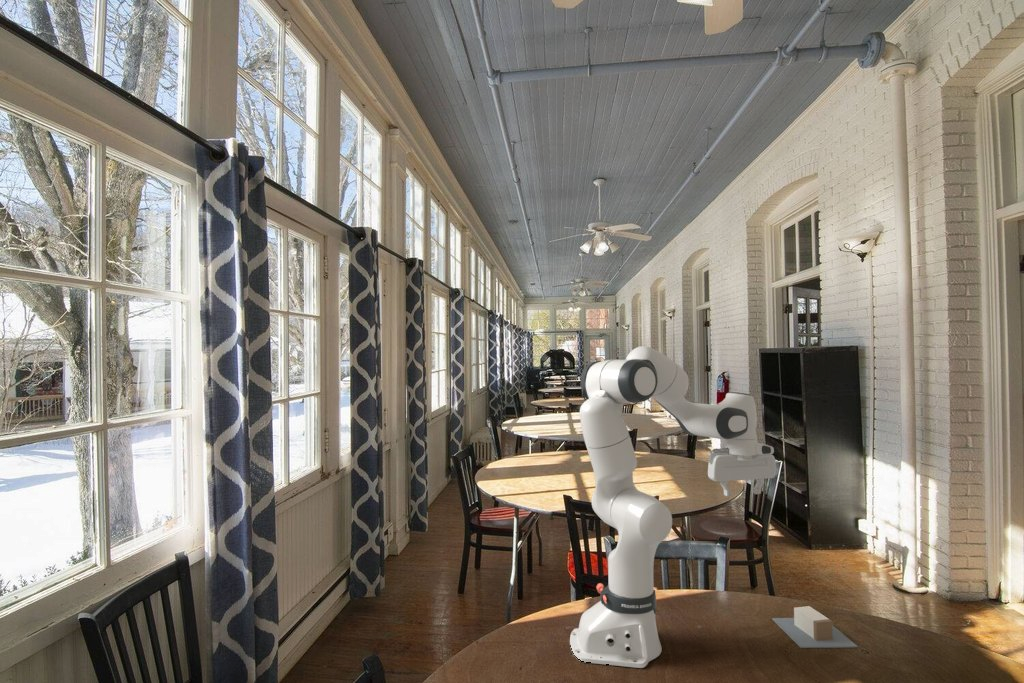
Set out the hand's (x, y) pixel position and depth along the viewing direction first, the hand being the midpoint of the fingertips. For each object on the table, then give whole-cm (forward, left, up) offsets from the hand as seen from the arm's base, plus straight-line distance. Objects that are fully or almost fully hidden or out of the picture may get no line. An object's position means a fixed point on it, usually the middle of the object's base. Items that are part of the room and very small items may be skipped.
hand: (742, 494), depth 153 cm
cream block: (+9, -13, -29) cm, 33 cm away
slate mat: (+10, -17, -31) cm, 37 cm away
